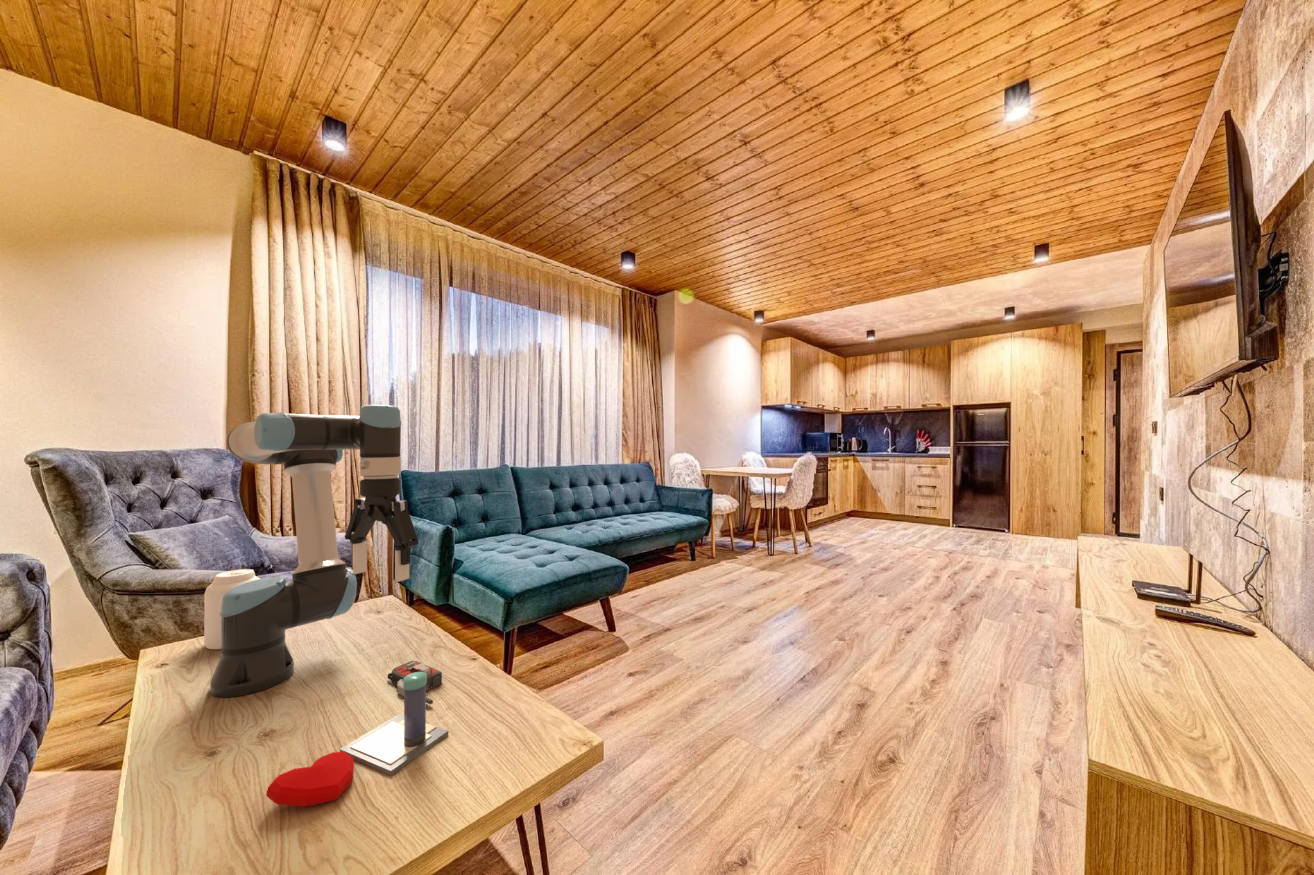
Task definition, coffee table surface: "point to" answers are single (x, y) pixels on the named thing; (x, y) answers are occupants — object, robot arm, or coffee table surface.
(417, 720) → the marker
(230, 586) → the white jar
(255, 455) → the robot arm
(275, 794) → the heart
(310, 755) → the coffee table surface
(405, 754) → the clipboard
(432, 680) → the walkie-talkie
